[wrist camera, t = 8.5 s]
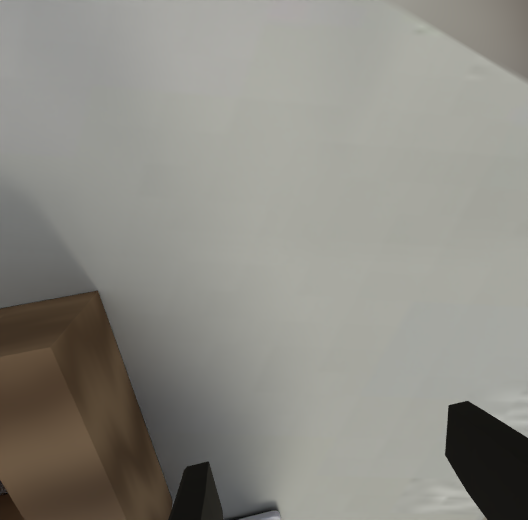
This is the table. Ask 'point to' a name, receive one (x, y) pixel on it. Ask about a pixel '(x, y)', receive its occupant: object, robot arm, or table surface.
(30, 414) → the wooden frame tray
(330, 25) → the table surface
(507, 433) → the robot arm
